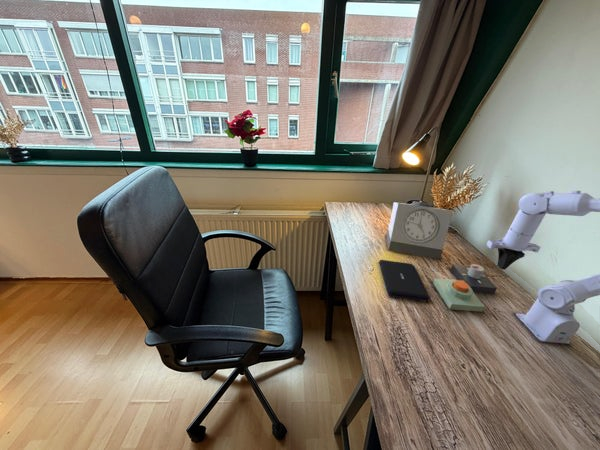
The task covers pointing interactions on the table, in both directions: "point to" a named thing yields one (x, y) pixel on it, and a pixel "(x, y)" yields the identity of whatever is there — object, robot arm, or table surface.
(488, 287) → the dial panel
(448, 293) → the green button box
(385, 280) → the laptop
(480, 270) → the temp dial
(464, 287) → the button
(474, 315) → the table surface
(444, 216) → the alarm clock
